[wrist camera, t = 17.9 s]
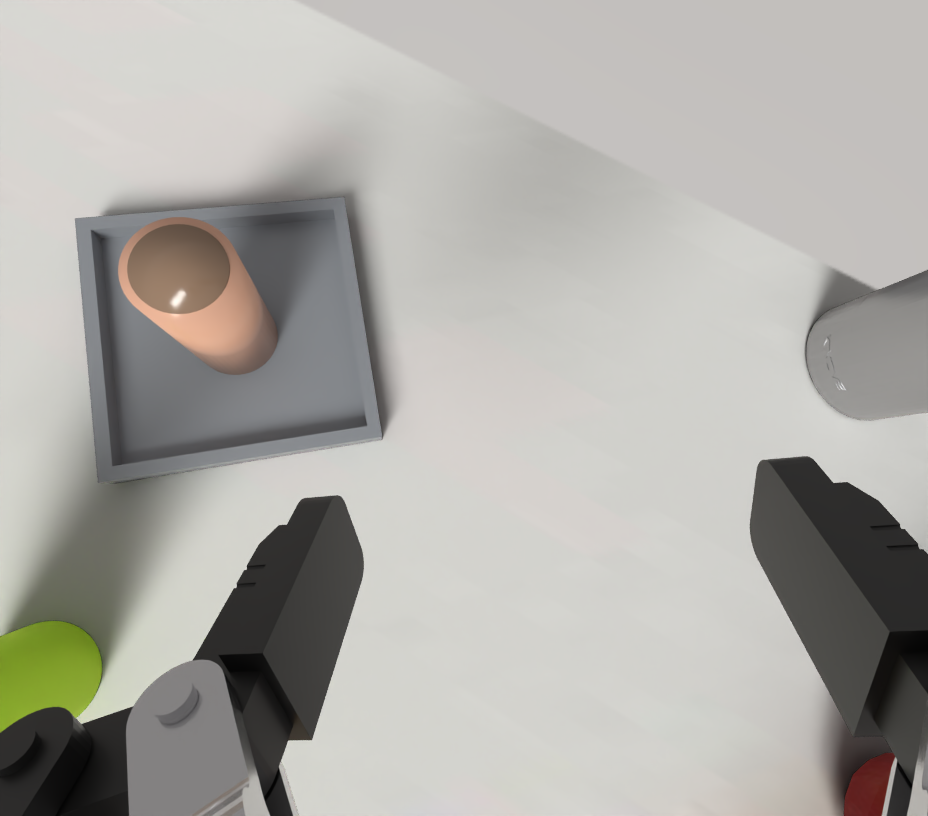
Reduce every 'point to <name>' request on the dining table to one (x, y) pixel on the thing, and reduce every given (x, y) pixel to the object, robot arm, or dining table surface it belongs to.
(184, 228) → the cup
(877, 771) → the apple
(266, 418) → the tray
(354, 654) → the dining table surface
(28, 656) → the soap dispenser
